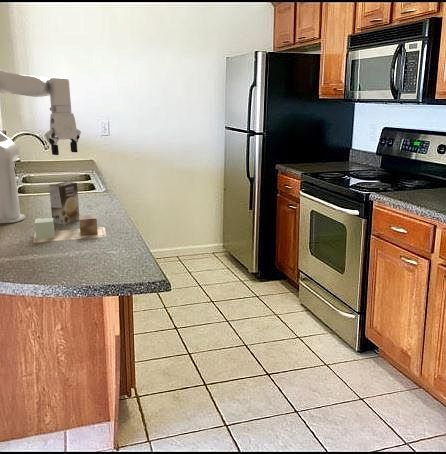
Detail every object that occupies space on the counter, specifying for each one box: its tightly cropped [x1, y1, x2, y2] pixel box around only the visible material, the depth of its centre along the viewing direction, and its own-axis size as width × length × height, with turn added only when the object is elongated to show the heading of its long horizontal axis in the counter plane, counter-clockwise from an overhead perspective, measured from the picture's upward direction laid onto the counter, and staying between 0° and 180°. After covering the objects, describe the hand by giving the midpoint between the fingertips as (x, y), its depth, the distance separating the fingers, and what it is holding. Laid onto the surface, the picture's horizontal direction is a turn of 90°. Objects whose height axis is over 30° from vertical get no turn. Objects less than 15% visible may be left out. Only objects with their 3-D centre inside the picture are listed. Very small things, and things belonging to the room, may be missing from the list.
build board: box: [32, 226, 107, 244], centre depth 181 cm, size 25×13×1 cm, turn 107°
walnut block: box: [78, 214, 98, 236], centre depth 182 cm, size 6×6×6 cm
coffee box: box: [48, 181, 81, 225], centre depth 198 cm, size 9×6×16 cm
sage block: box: [34, 217, 56, 240], centre depth 178 cm, size 6×6×6 cm
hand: (65, 153), depth 201 cm, fingers open, 9 cm apart
